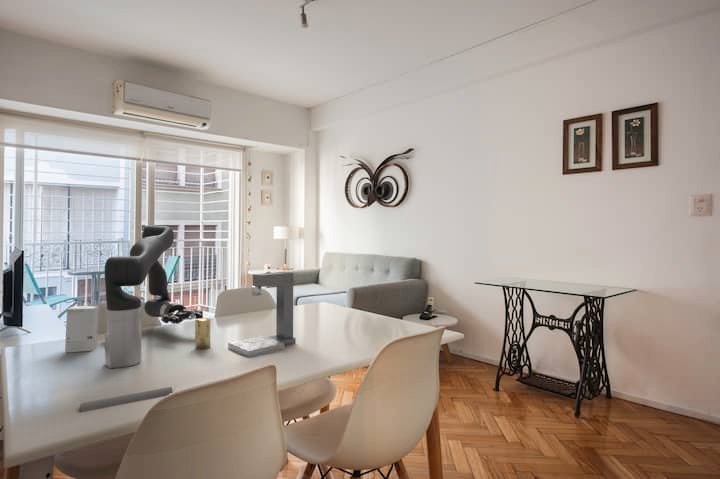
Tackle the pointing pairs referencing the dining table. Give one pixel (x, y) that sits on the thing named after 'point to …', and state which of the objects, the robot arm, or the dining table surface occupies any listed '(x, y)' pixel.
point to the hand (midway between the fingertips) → (190, 319)
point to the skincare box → (81, 328)
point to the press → (282, 316)
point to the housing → (202, 333)
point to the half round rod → (124, 399)
